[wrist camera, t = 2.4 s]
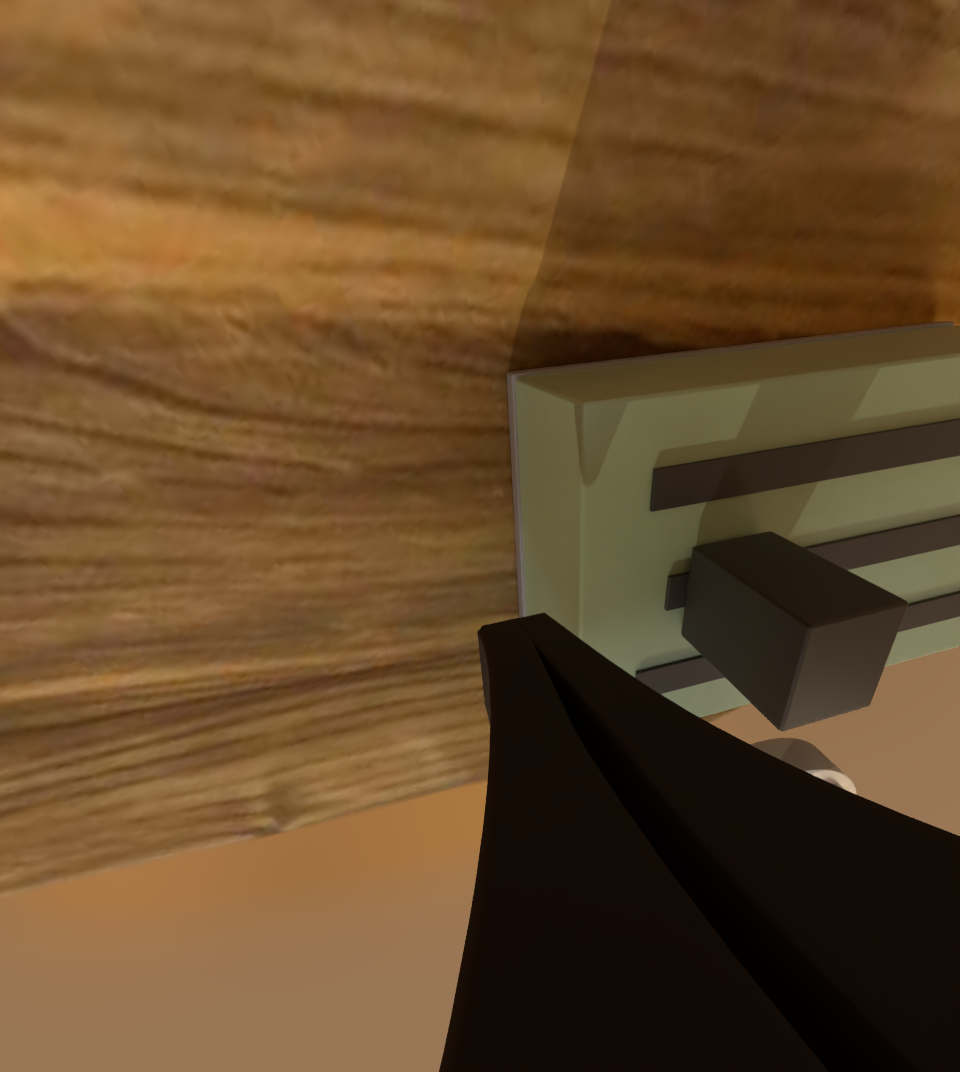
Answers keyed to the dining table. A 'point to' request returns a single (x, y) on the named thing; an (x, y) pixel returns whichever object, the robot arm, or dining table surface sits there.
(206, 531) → the dining table surface
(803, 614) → the slider
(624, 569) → the green slab
